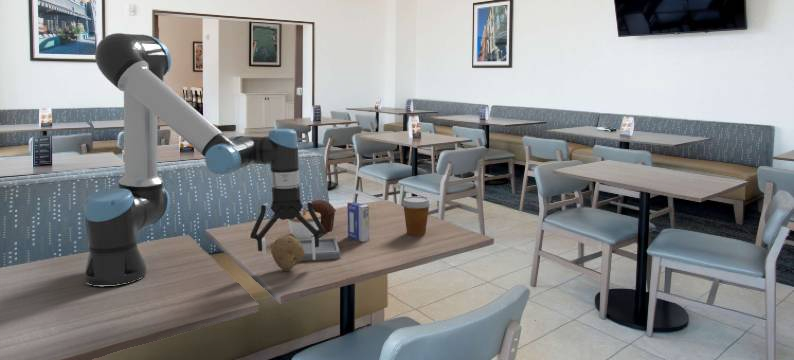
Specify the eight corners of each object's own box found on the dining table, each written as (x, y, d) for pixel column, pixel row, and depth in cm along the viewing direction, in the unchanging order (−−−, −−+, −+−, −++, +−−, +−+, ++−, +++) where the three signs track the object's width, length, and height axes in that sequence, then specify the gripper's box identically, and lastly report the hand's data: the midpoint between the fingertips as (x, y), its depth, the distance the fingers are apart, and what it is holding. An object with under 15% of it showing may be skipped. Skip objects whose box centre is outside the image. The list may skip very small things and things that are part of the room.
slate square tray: (292, 261, 172) (291, 254, 172) (291, 247, 185) (291, 240, 185) (339, 258, 175) (339, 251, 174) (335, 244, 188) (335, 237, 188)
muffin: (297, 228, 206) (295, 201, 203) (323, 222, 213) (322, 195, 210) (316, 236, 197) (314, 207, 195) (343, 229, 204) (341, 201, 202)
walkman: (347, 237, 196) (347, 202, 194) (354, 235, 198) (353, 200, 196) (362, 242, 191) (362, 206, 188) (369, 240, 192) (369, 204, 190)
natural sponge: (294, 262, 171) (293, 229, 169) (311, 270, 165) (310, 236, 163) (266, 269, 165) (265, 235, 163) (283, 278, 159) (281, 242, 157)
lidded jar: (291, 243, 188) (290, 215, 187) (286, 234, 198) (285, 207, 197) (324, 240, 192) (324, 212, 190) (317, 232, 202) (316, 205, 200)
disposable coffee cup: (419, 239, 194) (419, 203, 191) (396, 234, 199) (396, 199, 197) (435, 232, 201) (435, 198, 199) (412, 228, 207) (413, 194, 204)
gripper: (237, 191, 154) (242, 267, 159) (332, 186, 159) (335, 260, 163) (239, 185, 162) (244, 259, 166) (330, 180, 166) (332, 252, 170)
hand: (289, 260), depth 164 cm, fingers open, 13 cm apart
